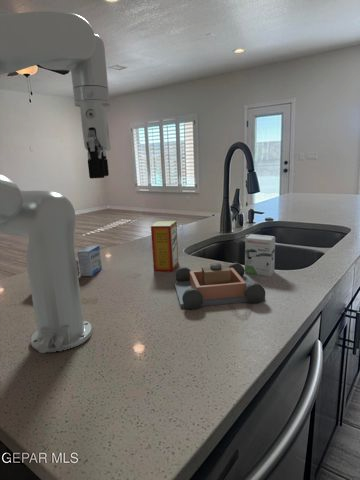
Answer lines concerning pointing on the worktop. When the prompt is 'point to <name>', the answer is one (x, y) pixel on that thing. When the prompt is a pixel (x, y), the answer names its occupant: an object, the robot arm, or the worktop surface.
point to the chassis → (216, 289)
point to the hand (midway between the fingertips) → (99, 177)
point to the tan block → (216, 274)
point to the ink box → (259, 254)
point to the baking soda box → (164, 246)
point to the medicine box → (89, 260)
